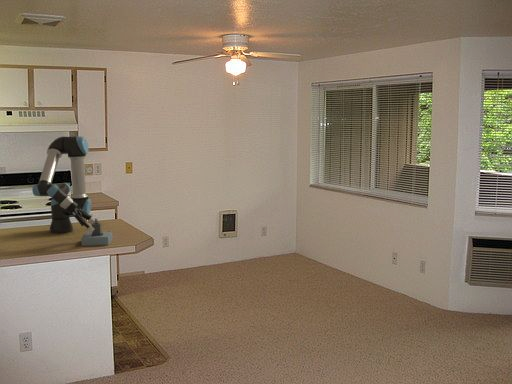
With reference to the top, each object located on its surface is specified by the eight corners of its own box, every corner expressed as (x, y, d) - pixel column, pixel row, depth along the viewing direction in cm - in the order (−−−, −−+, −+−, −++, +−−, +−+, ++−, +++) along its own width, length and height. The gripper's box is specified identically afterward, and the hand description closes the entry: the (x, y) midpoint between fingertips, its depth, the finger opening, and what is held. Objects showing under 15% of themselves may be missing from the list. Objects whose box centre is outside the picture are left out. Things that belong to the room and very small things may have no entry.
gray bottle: (94, 241, 365) (93, 218, 363) (102, 241, 365) (101, 218, 363) (92, 243, 360) (91, 219, 358) (100, 243, 360) (99, 219, 358)
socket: (87, 239, 370) (86, 232, 369) (112, 239, 371) (112, 231, 370) (81, 245, 354) (81, 237, 353) (108, 245, 355) (107, 237, 354)
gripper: (69, 205, 369) (94, 228, 373) (60, 213, 345) (87, 237, 349) (77, 197, 369) (102, 220, 373) (68, 204, 345) (95, 228, 348)
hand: (95, 228), depth 361 cm, fingers open, 13 cm apart
